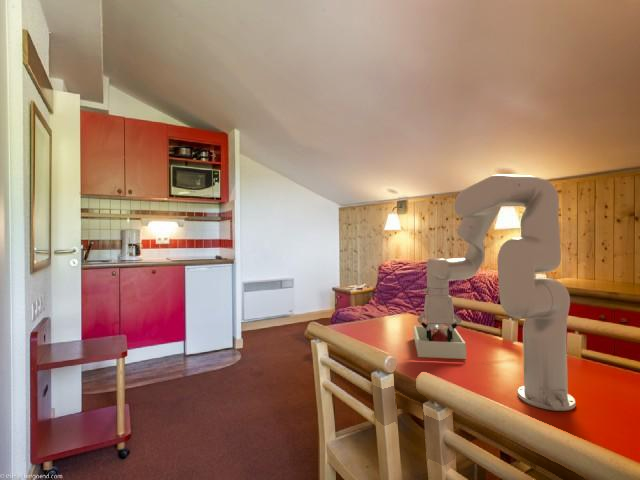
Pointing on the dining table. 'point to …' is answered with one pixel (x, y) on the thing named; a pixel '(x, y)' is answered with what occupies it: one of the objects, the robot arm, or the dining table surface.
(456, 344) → the tote
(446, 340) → the onion
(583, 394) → the dining table surface
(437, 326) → the glass jar
